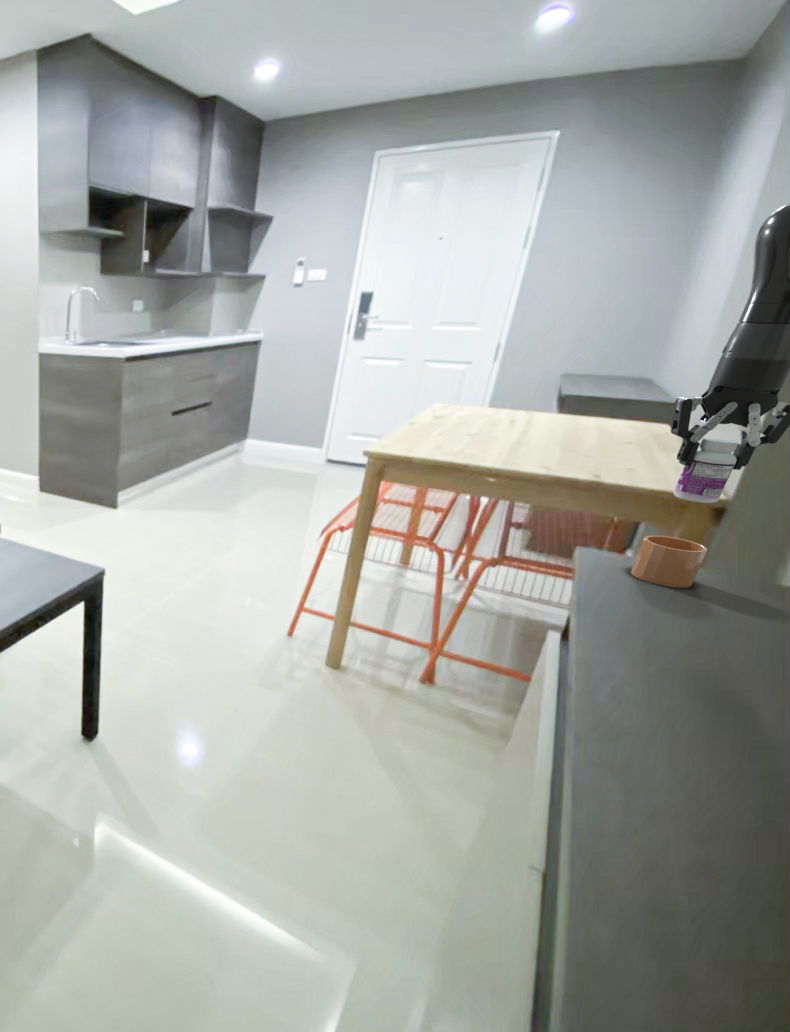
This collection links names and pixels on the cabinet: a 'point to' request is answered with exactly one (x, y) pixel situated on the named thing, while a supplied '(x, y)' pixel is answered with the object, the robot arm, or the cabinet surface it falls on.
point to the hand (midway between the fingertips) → (709, 465)
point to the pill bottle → (707, 471)
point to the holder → (668, 561)
